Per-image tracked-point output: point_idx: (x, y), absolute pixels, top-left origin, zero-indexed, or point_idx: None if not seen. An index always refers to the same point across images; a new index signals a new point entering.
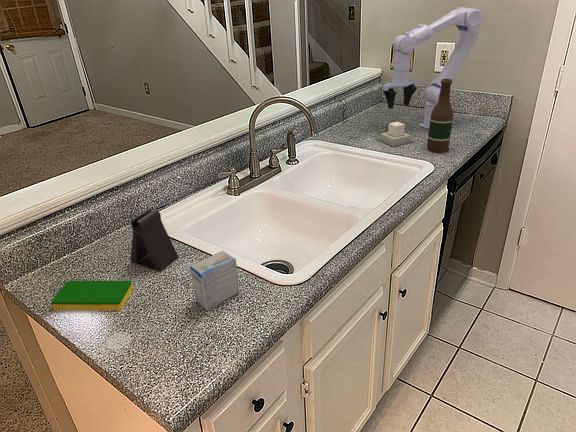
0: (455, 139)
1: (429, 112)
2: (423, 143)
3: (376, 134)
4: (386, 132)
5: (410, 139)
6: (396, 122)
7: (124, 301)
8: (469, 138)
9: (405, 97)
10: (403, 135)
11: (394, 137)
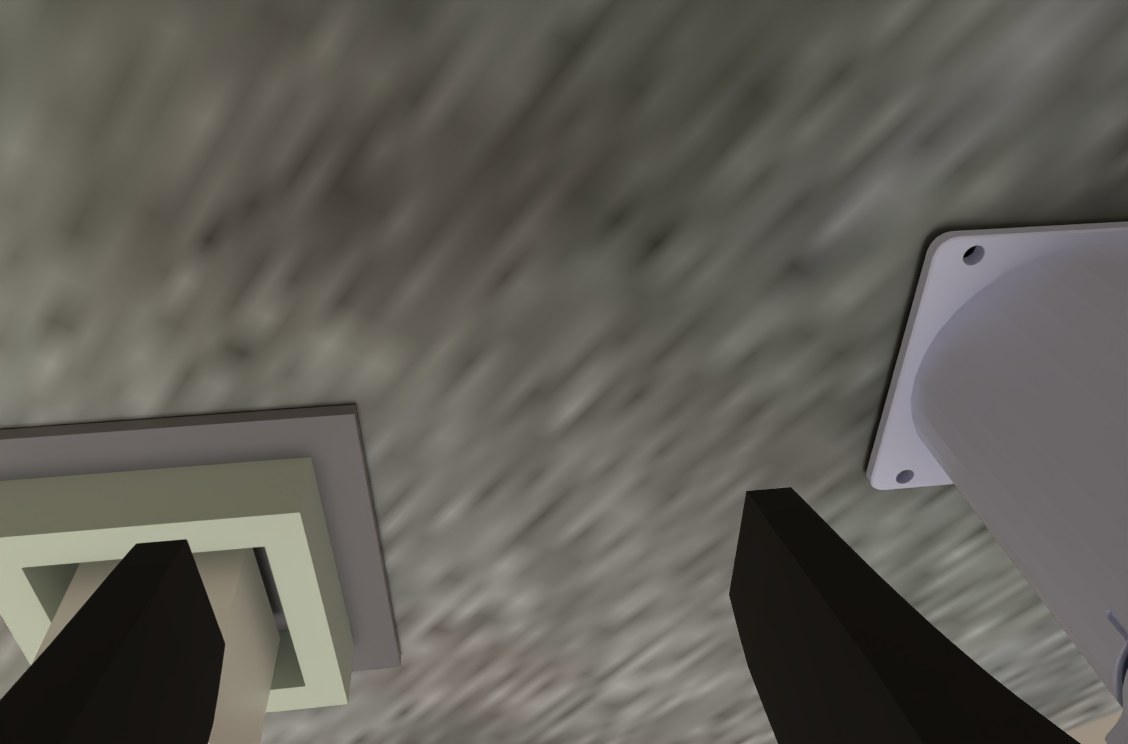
0: None
1: (1040, 574)
2: (456, 701)
3: (21, 251)
4: (68, 536)
5: (382, 623)
6: None
7: None
8: None
9: (838, 711)
10: (269, 669)
11: None
